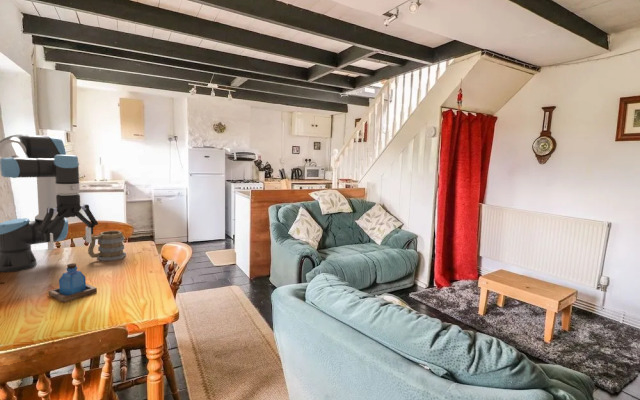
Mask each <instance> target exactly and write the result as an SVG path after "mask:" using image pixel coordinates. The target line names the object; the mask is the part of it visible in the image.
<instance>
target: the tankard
mask: <svg viewBox="0 0 640 400" xmlns="http://www.w3.org/2000/svg"><path fill="white" fill-rule="evenodd" d="M82 239H83V240H84V241H86V234H85V235H84V236H83V237H82ZM91 240H92V243H89V246H88V249H87V253H88V255H89V257H90V258H91V259H93V258H97V259H98V260H100V261H102V262H105V261H108V262H111V261H117V260H118V261H119V260H122V259H123V258H125V257H126V256H127V253H126V252H124V249H125V244H124V243H123V242H124V240H125V236H124V235H123V231H120V230H107V231H102V232H99V234H98V235H96V236H95V235H91ZM96 240H97V243H98V244H99V246H98V247H97V248H98V250H97V251H98V252H97V253H94V248H95V245H96Z"/></svg>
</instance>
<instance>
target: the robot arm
mask: <svg viewBox="0 0 640 400" xmlns="http://www.w3.org/2000/svg"><path fill="white" fill-rule="evenodd" d="M66 153H67V152H66V147H65V145H64V142H63V140H62V139H61V137H58V136H54V135H53V136H52V135H51V136H50V135H35V134H33V135H32V134H14V135H9V136H7V137H4V138H2V139H1V140H0V157H1V158H0V174H1V177H3V178H13V179H17V178H36V185H37V186H36V190H37V207H38V209H37V210H38V214H37V215H36V216H34V220H30V219H29V218H27V217H26V218H15V219H10V220H5V221H2V222H0V272H1V273H11V272H18V271H25V270H28V269H31V268H34V267H35V266H37V264H38V263H37V258H36V256H35V255H34V253H33V251H32V245H38V244H39V245H40V244H45V243H46V244H47V249H48V250H49V251H54V250H55V249H54V248H55V247H54V244H55V242H60V241H64V240H65V239H67V236H68V233H69V220H68V218H75V217H77V219H79V220H80V221H81V222H83V223H84V224H85V225H86V226H85V235H86V240H85V242H86V243H88V244H90V243H92V240H91V236H93V234H94V228H95V226H98V224H99V223H98V221H97V219H96V217H95V216H94V214H93V212H92V211H91V209H90V205H89V204H86V203H83V204H81V196H80V171H79V170H80V169H79V168H80V167H79V165H80V163H79V158H78V155H74V154H66ZM81 210H82V211H83V212H84V214H85V216H87V217H85V216H84V215H83V214H82V213H81V212H80V211H81Z"/></svg>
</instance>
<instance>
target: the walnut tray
mask: <svg viewBox="0 0 640 400" xmlns="http://www.w3.org/2000/svg"><path fill="white" fill-rule="evenodd" d="M97 290H98V288H97V287H95V286H92V285H90V284H89V283H86V290H85V291H81V292H78V293H75V294H72V295H68V296H66V295H62V294H60V290H59V287H58V288H54V289H50V290H48V296H50V297H51V298H53V299H54V300H57V301H59V302H61V303H63V304H65V303H68V302H71V300H72V301H75V300H78V299H80V298H84V297H88V296H91V295H93V294H96V293H97V292H98V291H97Z"/></svg>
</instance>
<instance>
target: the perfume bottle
mask: <svg viewBox="0 0 640 400" xmlns="http://www.w3.org/2000/svg"><path fill="white" fill-rule="evenodd" d="M66 266H67V267H66V271H67V272H64V273H62V275H61V276H60V278H59V279H58V284H59V285H58V288H59V290H60V294H62V295H66V296H68V295H72V294H75V293H78V292H81V291H85V290H86V284H87V282H86V281H87V280H86V276H85V274H83V273H82V271H80V270H78V266H77V263H72V262H71V263H68V264H66Z"/></svg>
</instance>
